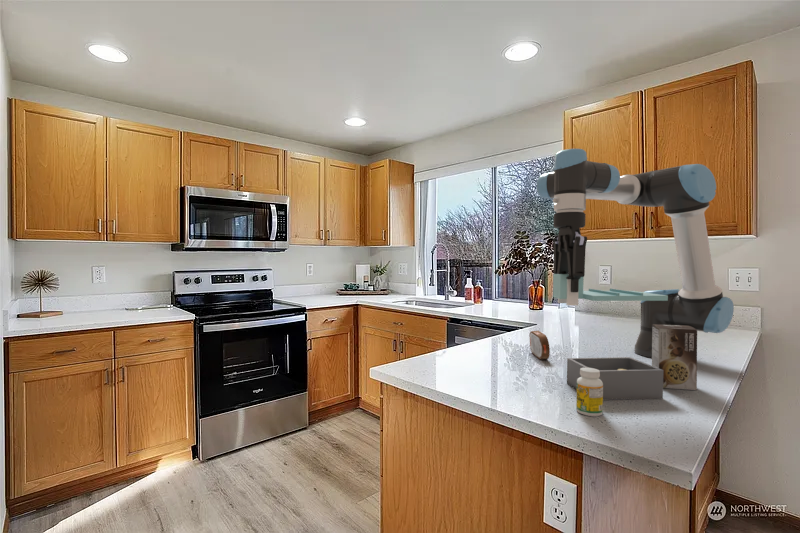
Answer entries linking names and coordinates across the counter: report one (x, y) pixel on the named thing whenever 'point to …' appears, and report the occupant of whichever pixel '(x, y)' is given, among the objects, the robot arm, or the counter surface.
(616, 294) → the lid
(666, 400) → the counter surface
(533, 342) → the tin
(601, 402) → the supplement bottle
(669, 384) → the coffee box
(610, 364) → the tub
